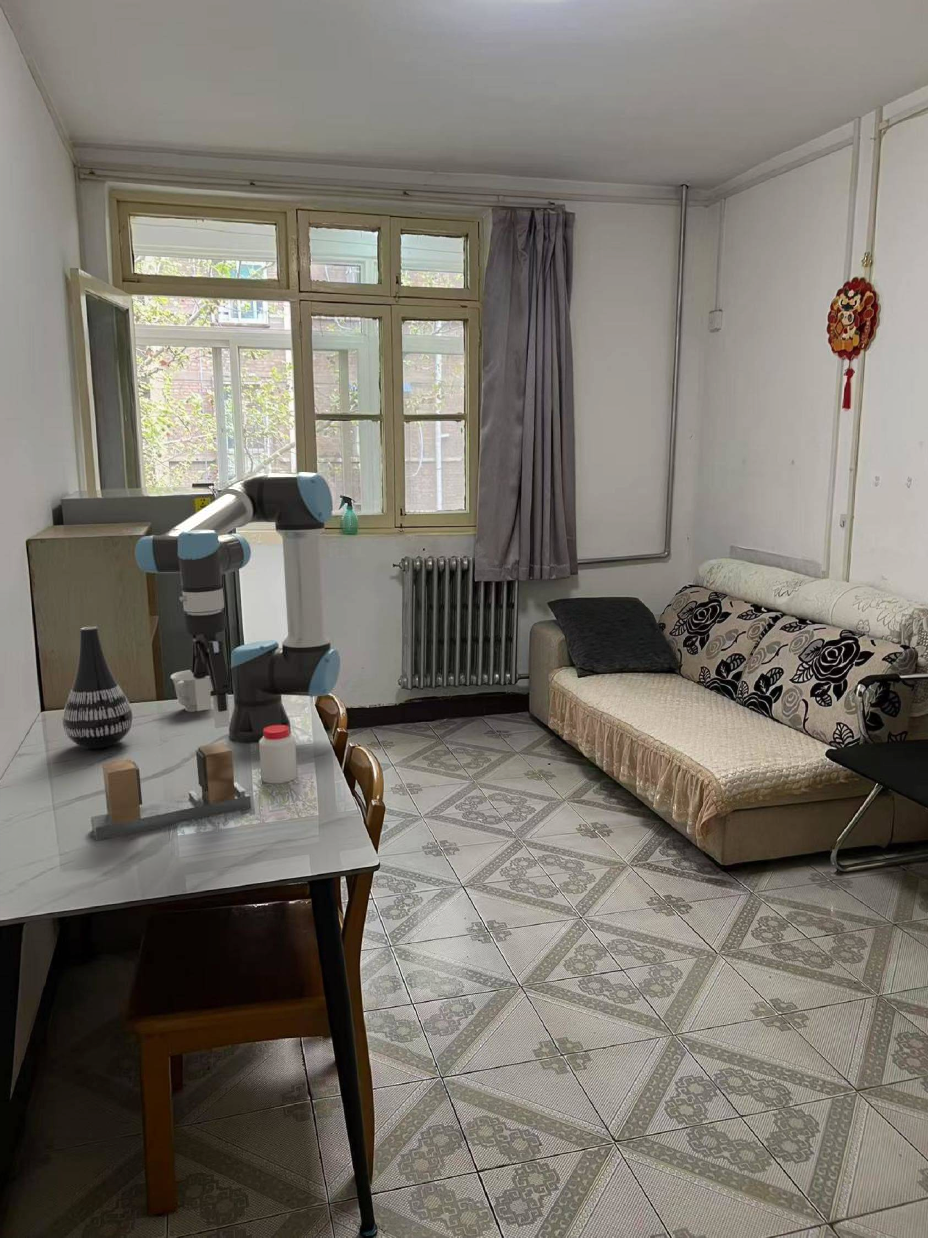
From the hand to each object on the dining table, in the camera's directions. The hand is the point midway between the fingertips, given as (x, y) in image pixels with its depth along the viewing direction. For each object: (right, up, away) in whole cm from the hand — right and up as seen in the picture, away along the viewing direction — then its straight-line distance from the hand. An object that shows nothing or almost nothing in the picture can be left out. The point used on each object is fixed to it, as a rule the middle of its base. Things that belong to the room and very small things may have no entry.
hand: (213, 718), depth 181 cm
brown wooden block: (0, -16, +3) cm, 16 cm away
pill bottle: (+9, -15, +20) cm, 27 cm away
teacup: (-26, -6, +75) cm, 79 cm away
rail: (-7, -19, -1) cm, 21 cm away
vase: (-40, -12, +45) cm, 62 cm away
